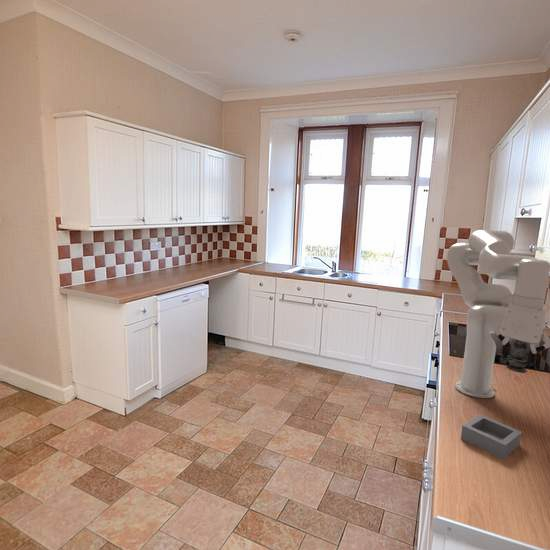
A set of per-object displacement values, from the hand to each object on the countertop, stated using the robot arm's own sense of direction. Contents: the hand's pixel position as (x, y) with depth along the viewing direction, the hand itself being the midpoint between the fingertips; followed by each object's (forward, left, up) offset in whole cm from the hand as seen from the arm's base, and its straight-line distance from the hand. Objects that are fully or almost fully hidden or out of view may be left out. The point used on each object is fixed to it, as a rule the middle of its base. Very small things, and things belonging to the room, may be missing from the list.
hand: (517, 360), depth 113 cm
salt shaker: (0, 0, -3) cm, 3 cm away
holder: (+15, +1, -20) cm, 25 cm away
